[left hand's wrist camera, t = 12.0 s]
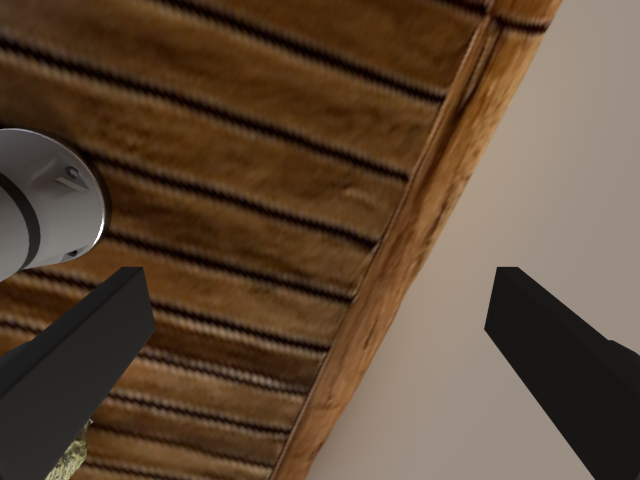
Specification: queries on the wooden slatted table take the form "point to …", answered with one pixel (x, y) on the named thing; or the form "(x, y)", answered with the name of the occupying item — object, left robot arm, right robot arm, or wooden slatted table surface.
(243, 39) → the wooden slatted table surface
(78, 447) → the fossil
